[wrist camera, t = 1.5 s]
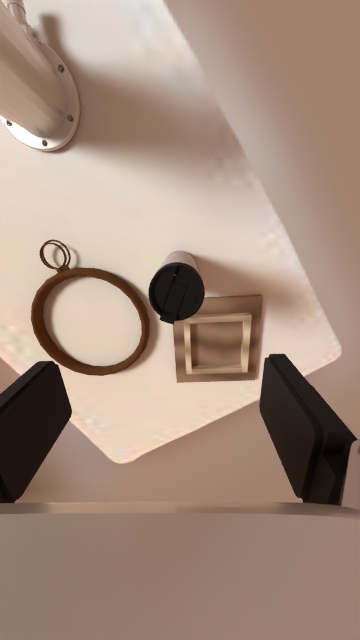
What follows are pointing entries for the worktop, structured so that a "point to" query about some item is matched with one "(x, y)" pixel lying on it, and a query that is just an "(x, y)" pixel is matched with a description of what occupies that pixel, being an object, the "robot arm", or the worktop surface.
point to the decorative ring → (43, 335)
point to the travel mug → (177, 288)
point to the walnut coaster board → (219, 340)
